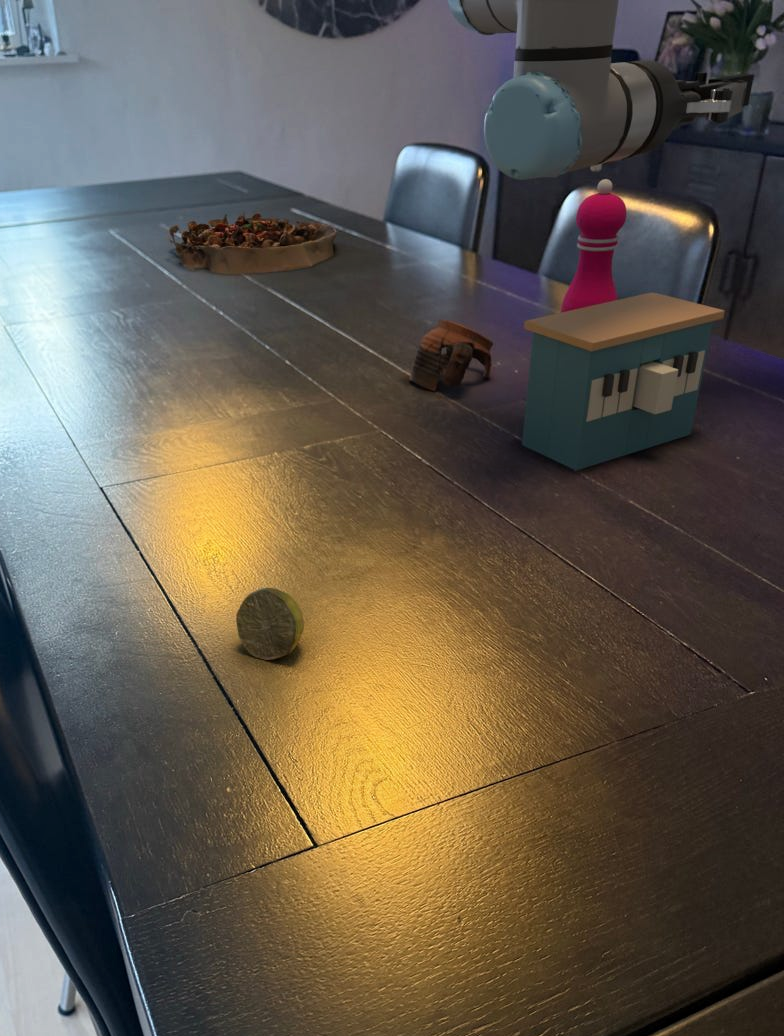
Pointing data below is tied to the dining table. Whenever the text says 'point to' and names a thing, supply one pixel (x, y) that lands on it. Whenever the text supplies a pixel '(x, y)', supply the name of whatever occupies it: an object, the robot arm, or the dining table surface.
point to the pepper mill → (596, 249)
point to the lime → (269, 623)
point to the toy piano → (612, 376)
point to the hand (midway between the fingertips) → (743, 89)
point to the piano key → (655, 387)
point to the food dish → (253, 245)
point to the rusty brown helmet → (449, 355)
